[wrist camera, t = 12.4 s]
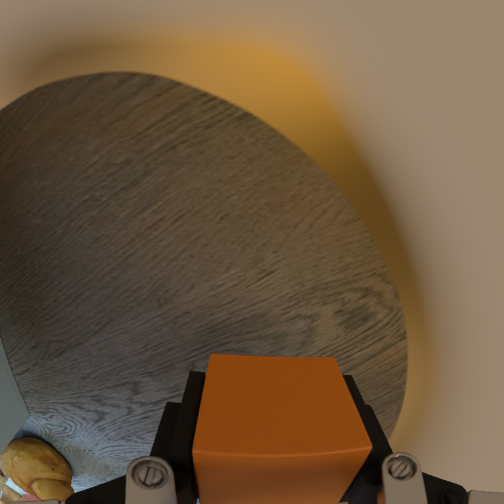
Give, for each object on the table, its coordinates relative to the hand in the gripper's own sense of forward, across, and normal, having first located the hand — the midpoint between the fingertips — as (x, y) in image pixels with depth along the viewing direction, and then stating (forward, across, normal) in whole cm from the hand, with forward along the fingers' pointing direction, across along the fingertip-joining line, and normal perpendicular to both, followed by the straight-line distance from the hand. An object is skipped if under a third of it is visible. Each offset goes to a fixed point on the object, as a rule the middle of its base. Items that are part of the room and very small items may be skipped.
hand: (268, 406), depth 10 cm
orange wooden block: (0, 0, 0) cm, 0 cm away
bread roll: (+9, +27, +26) cm, 38 cm away
